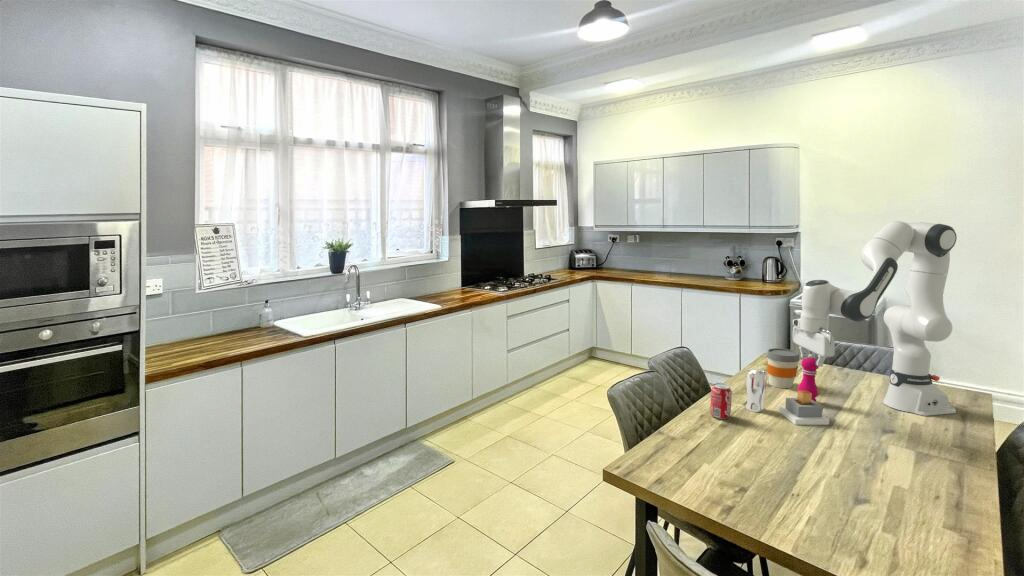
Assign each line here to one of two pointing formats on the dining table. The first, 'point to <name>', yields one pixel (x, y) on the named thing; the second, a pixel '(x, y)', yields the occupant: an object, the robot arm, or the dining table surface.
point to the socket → (803, 413)
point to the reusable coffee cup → (782, 367)
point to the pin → (804, 398)
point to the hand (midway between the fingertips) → (811, 361)
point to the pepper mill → (809, 376)
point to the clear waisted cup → (755, 389)
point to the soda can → (721, 401)
